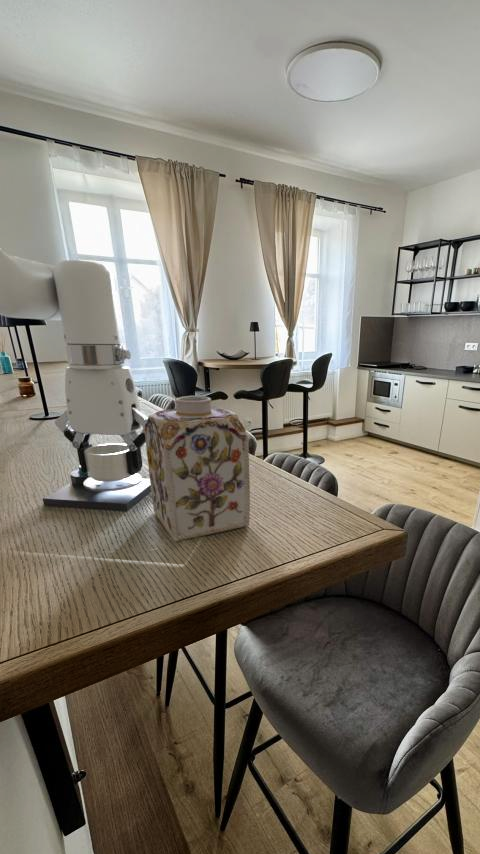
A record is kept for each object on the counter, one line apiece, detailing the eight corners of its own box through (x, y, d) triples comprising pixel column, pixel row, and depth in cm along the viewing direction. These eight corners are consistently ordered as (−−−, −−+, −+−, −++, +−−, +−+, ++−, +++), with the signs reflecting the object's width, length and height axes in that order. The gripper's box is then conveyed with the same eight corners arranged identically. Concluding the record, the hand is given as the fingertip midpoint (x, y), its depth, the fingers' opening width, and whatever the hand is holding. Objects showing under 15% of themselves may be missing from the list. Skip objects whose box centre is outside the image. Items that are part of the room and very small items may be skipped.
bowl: (79, 481, 65) (74, 453, 63) (103, 468, 71) (99, 442, 70) (123, 483, 64) (119, 456, 62) (143, 470, 71) (140, 444, 69)
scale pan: (72, 489, 64) (71, 487, 64) (102, 472, 73) (101, 470, 73) (126, 493, 63) (126, 490, 63) (150, 475, 72) (150, 473, 72)
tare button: (76, 475, 72) (74, 467, 71) (85, 470, 75) (84, 462, 74) (92, 476, 72) (91, 468, 71) (101, 471, 74) (100, 463, 74)
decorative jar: (222, 500, 69) (218, 390, 63) (252, 526, 60) (251, 401, 53) (150, 513, 64) (137, 394, 57) (171, 544, 54) (158, 407, 48)
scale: (41, 506, 66) (37, 488, 65) (85, 481, 77) (82, 466, 76) (127, 512, 64) (125, 494, 63) (158, 485, 76) (157, 470, 74)
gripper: (162, 357, 63) (171, 467, 70) (56, 355, 65) (75, 462, 72) (140, 360, 56) (153, 481, 63) (23, 357, 58) (48, 475, 65)
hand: (112, 470), depth 67 cm, fingers closed on bowl, 7 cm apart
